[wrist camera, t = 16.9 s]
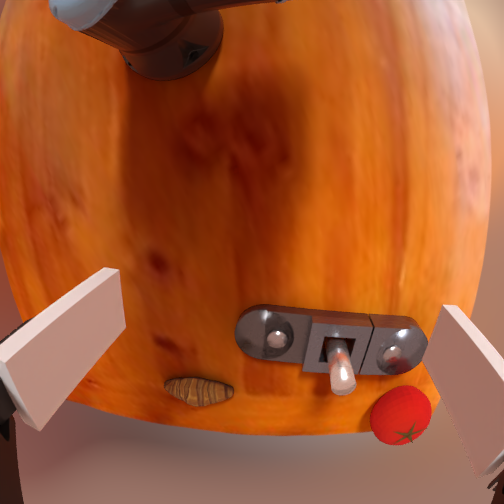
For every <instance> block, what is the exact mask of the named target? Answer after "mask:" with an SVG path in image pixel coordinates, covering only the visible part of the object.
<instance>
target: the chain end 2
mask: <svg viewBox="0 0 504 504" xmlns="http://www.w3.org/2000/svg"><path fill="white" fill-rule="evenodd" d="M368 317H369V319H370V320H359V319H346V318H333V317H322V316H312V317H311V322H310V328H309V333H308V338H307V343H306V347H305V352H304V357H303V361H302V371H305V372H318V373H329V366H328V359H327V355H320V353H321V349H322V345H323V341H324V336H327V337H341V338H352V340H351V343H350V347H349V350H348V352H349V356H350V360H351V364H352V368H353V372H354V374H358V372H359V374H361V375H398V374H402V373H405V372H408V371H410V370H411V369H413V368H414V367H416V366H417V365H418V364H419V363H420V362H421V361H422V358H423V355H424V353H425V351H426V348H427V346H428V340H427V338H426V336H425V334H424V333H423V331H422V330H421V328H420V327H419V325H418V324H417V322H416V321H415V320H414V319H412V318H410V317H407V316H394V315H378V314H369V316H368Z"/></svg>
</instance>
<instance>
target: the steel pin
mask: <svg viewBox="0 0 504 504" xmlns="http://www.w3.org/2000/svg"><path fill="white" fill-rule="evenodd" d="M324 340H325V346H326V353H327V359H328V366H329V373H330V380H331V388H332V391H333V393H335V394H337V395H347V394H349V393H351V392H352V391H353V390H354V389H355V388H356V381H355V377H354V372H353V368H352V364H351V360H350V356H349V352H348V348H347V344H346V341H345V338H341V337H327V336H324Z"/></svg>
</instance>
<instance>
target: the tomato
mask: <svg viewBox="0 0 504 504" xmlns="http://www.w3.org/2000/svg"><path fill="white" fill-rule="evenodd" d="M431 411H432V410H431V404H430V401H429V400H428V398H427V396H426V395H425V394H424V393H422V392H421V391H420V390H419V389H417V388H415V387H413V386H408V385H406V386H400V387H397V388H394V389H392V390H390V391H389V392H387V393H386V394H385V395H384V396H382V397H381V398H380V399H379V401H378V402H377V403H376V404H375V406H374V408H373V410H372V412H371V416H370V424H371V429H372V431H373V432H374V434H375V436H376V437H377V438H378V439H379V440H380V441H382V442H384V443H386V444H389V445H403V444H406V443H409V442H412V441H413V440H414V439H416V438H417V437H419V436H420V435H421V434H422V433H423V431H424V430H425V429H426V428H427V426H428V425H429V422H430V419H431Z"/></svg>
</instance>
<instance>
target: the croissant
mask: <svg viewBox="0 0 504 504" xmlns="http://www.w3.org/2000/svg"><path fill="white" fill-rule="evenodd" d="M164 388H165V390H166V391H168V392H169V393H170V394H171V395H173V396H175V397H176V398H178V399H180V400H183V401H185V402H186V403H187V404H189V405H193V406H206V405H209V404H213V403H217V402H220V401H224V400H226V399H228V398H230V397H232V396H233V393H234V389H233V387H232V386H229V385H227V384H224V383H221V382H218V381H211V380H208V379H204V378H199V377H188V378H175V379H170V380H167V381H166V382H165V383H164Z"/></svg>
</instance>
